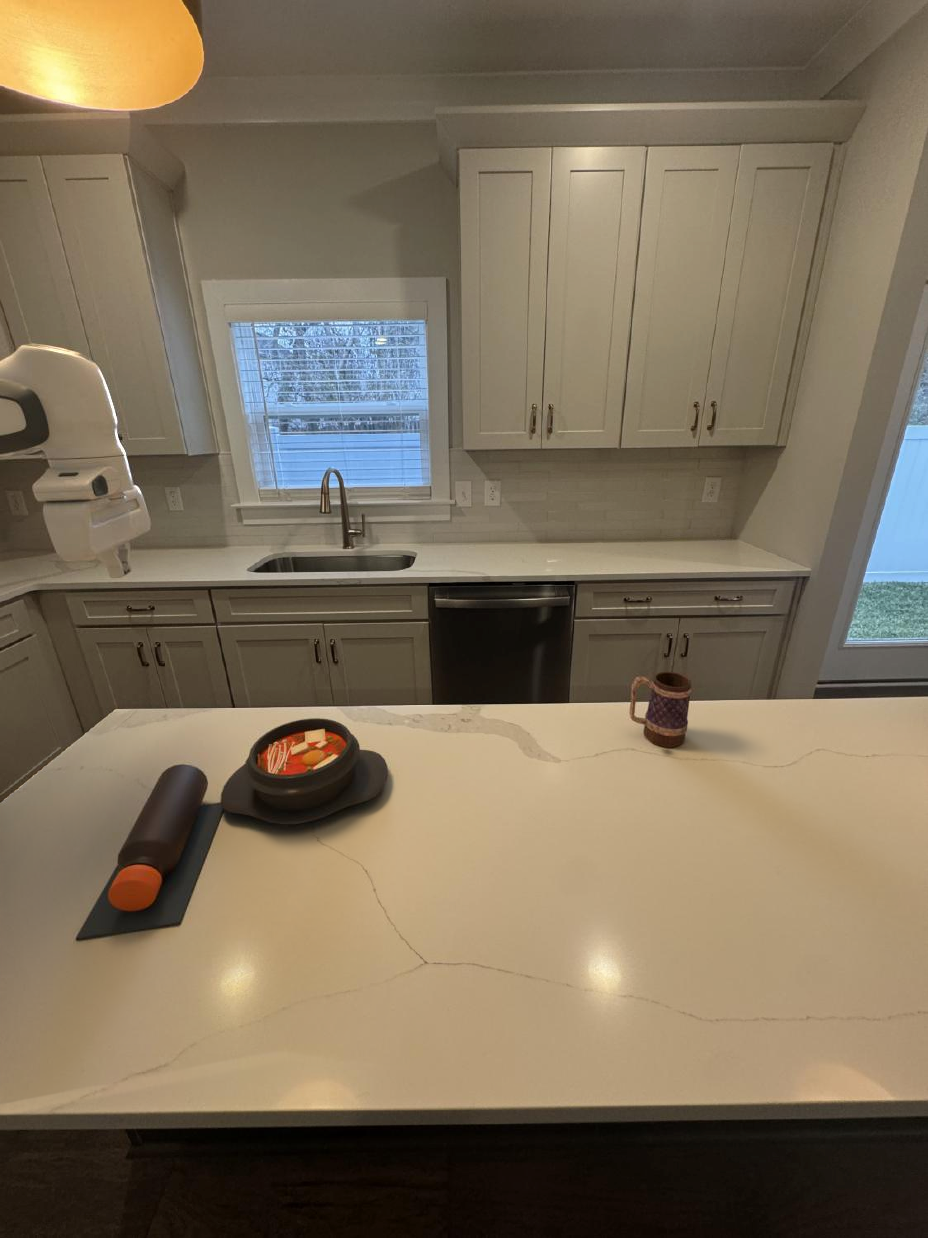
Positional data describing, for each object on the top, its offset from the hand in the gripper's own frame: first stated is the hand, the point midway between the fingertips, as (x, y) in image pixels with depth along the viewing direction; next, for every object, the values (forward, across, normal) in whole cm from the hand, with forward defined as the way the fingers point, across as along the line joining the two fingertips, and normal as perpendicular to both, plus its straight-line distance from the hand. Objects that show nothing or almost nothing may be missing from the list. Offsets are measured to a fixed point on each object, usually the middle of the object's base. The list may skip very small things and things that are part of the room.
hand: (121, 575), depth 75 cm
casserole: (+33, +12, +24) cm, 43 cm away
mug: (+33, +9, +84) cm, 91 cm away
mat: (+33, +23, +6) cm, 41 cm away
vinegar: (+29, +11, +6) cm, 32 cm away
